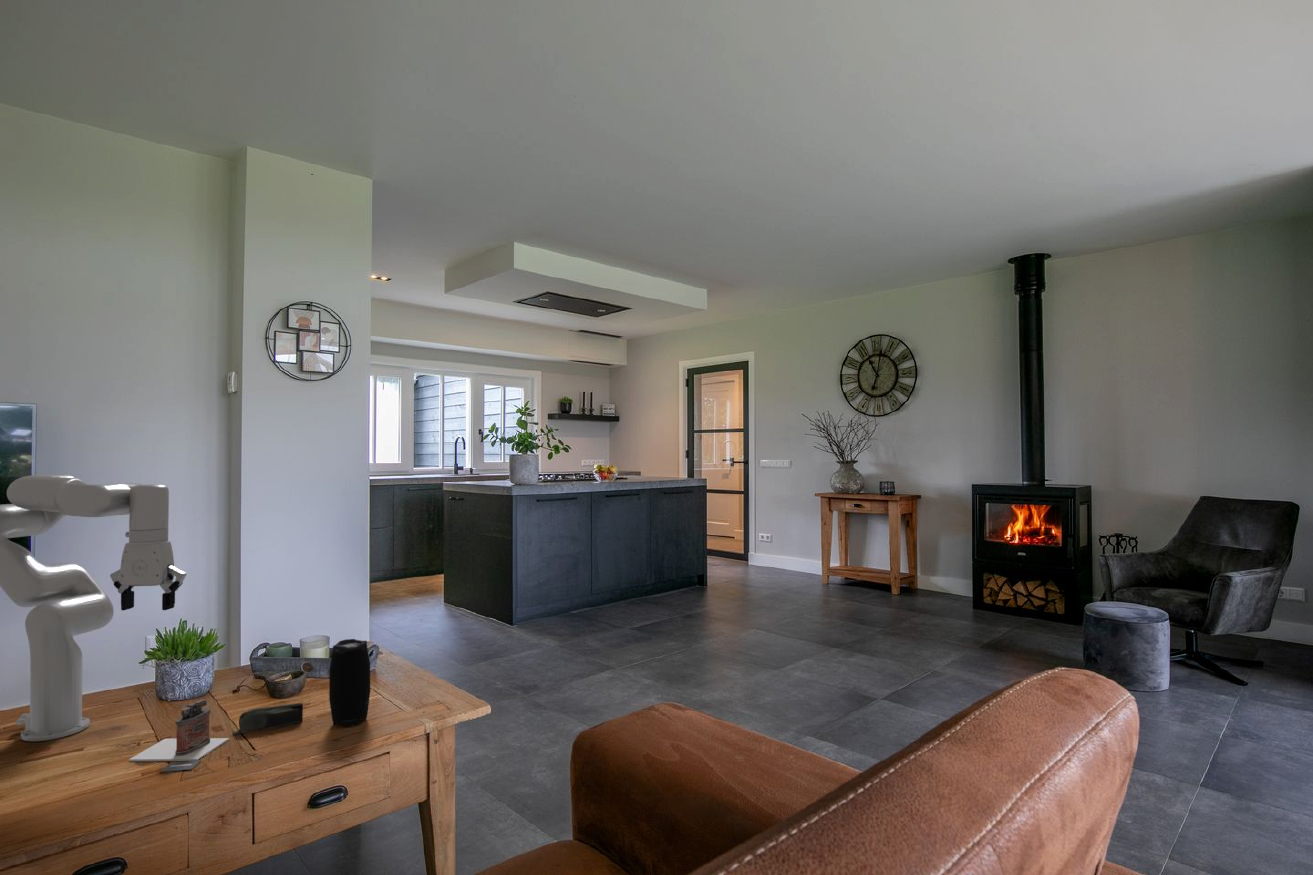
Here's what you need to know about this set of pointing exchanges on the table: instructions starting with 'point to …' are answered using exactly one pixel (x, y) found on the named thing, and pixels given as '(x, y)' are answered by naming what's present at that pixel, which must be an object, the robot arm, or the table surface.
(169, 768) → the plate
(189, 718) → the lighter
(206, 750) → the paper
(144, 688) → the table surface
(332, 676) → the portable speaker
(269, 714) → the dark elongated piece
